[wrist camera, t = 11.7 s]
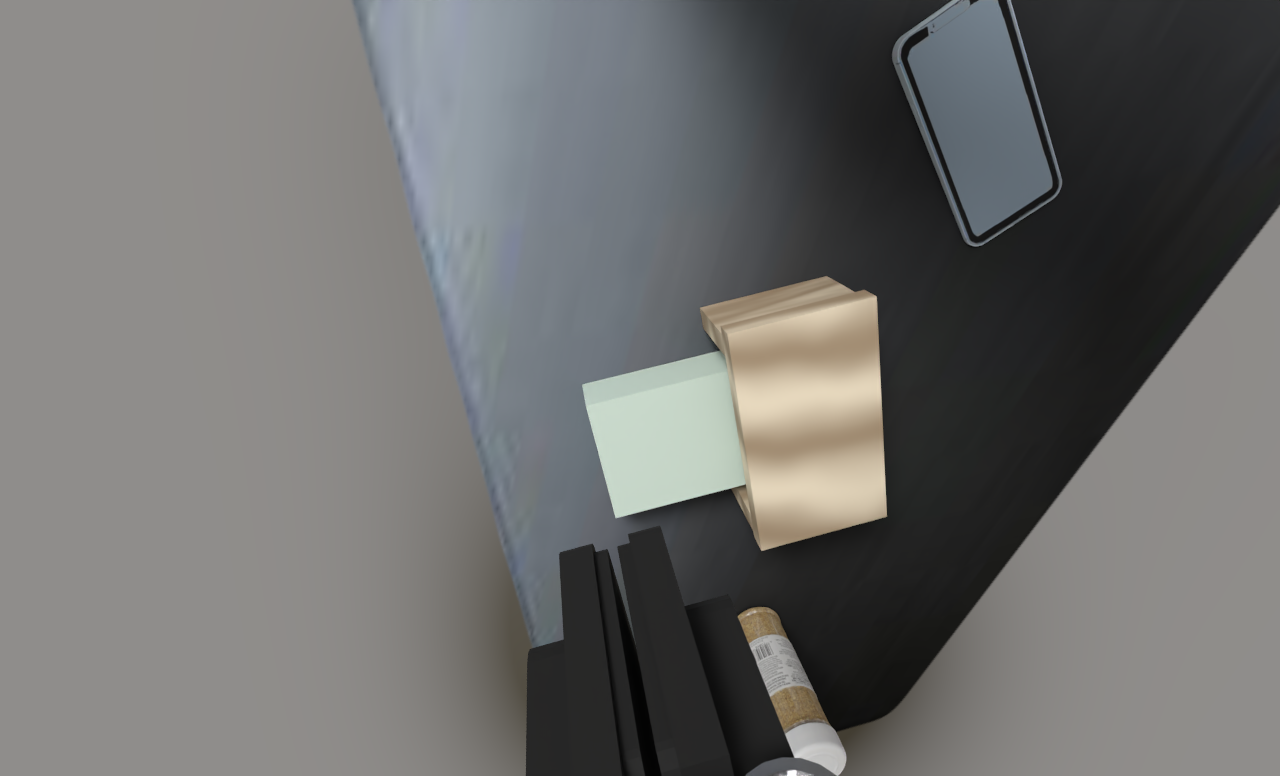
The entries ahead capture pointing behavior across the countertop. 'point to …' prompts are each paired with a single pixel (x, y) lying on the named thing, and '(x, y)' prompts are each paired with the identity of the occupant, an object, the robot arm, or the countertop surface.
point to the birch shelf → (804, 407)
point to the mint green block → (666, 433)
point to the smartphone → (979, 115)
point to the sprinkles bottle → (791, 691)
